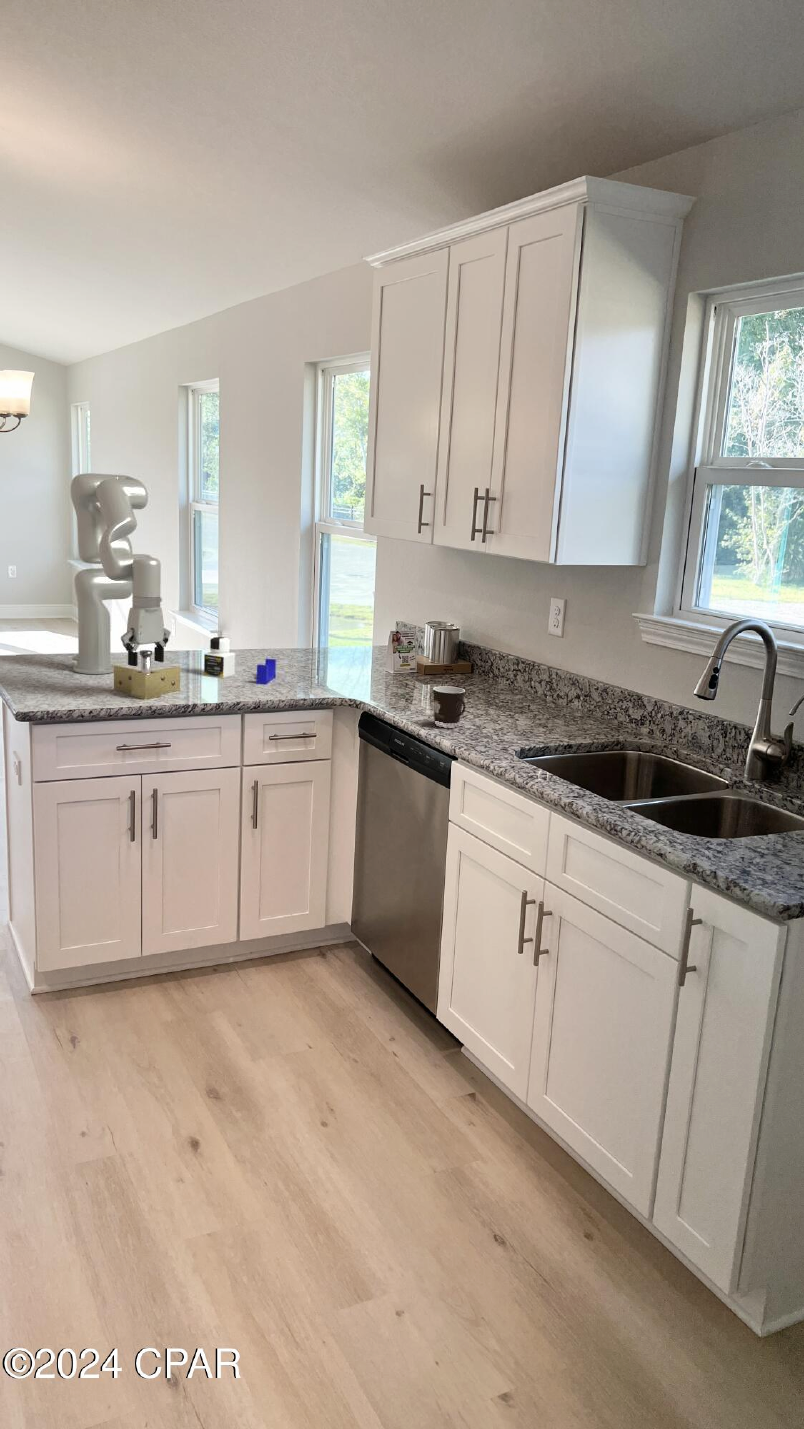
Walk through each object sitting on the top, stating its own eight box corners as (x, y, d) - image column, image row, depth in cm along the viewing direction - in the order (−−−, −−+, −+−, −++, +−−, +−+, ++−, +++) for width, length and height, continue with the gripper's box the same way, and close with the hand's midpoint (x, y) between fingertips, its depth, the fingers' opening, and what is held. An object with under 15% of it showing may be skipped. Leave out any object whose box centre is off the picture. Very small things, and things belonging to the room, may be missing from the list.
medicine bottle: (203, 675, 325) (204, 637, 323) (215, 672, 332) (216, 635, 329) (223, 678, 323) (224, 640, 320) (235, 675, 329) (236, 637, 327)
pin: (137, 696, 292) (137, 651, 289) (146, 694, 294) (146, 649, 291) (145, 698, 290) (145, 652, 287) (154, 696, 293) (154, 651, 290)
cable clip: (261, 676, 330) (262, 658, 329) (275, 677, 330) (276, 659, 328) (251, 684, 319) (252, 664, 317) (266, 685, 318) (266, 666, 317)
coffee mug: (428, 721, 284) (431, 685, 282) (460, 722, 285) (462, 687, 283) (433, 731, 273) (436, 694, 271) (466, 733, 274) (468, 696, 272)
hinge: (107, 690, 297) (107, 666, 295) (148, 683, 309) (148, 660, 308) (145, 699, 288) (145, 675, 287) (186, 692, 301) (186, 668, 299)
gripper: (160, 599, 295) (159, 658, 299) (112, 603, 281) (112, 665, 285) (179, 602, 291) (178, 662, 295) (131, 606, 277) (131, 669, 281)
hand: (146, 663), depth 290 cm, fingers open, 9 cm apart
